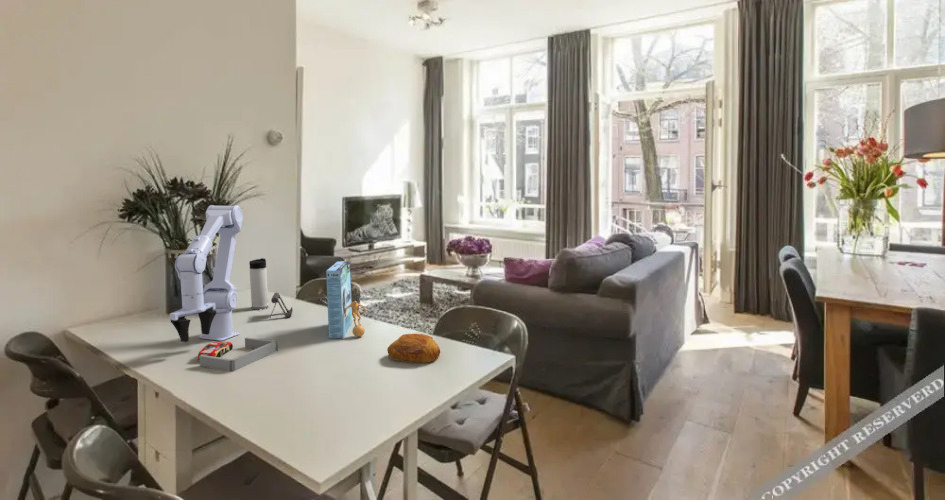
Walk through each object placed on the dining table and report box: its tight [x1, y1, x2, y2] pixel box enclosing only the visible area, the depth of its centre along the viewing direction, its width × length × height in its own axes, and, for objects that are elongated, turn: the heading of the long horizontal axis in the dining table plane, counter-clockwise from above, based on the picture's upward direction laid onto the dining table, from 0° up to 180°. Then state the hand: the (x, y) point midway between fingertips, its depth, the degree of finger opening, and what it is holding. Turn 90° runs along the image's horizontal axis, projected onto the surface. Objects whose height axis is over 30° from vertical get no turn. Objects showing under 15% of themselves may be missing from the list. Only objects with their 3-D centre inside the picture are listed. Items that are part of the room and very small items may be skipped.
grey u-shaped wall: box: [199, 336, 279, 373], centre depth 148 cm, size 12×18×3 cm, turn 161°
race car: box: [197, 341, 234, 362], centre depth 151 cm, size 13×5×4 cm, turn 177°
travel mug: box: [248, 257, 269, 311], centre depth 204 cm, size 6×7×20 cm
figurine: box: [345, 300, 368, 338], centre depth 169 cm, size 8×6×12 cm
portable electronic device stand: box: [269, 292, 293, 319], centre depth 193 cm, size 9×8×8 cm
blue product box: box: [325, 260, 353, 339], centre depth 174 cm, size 20×5×23 cm, turn 4°
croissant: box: [386, 333, 441, 364], centre depth 150 cm, size 14×16×8 cm
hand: (195, 337), depth 153 cm, fingers open, 7 cm apart
